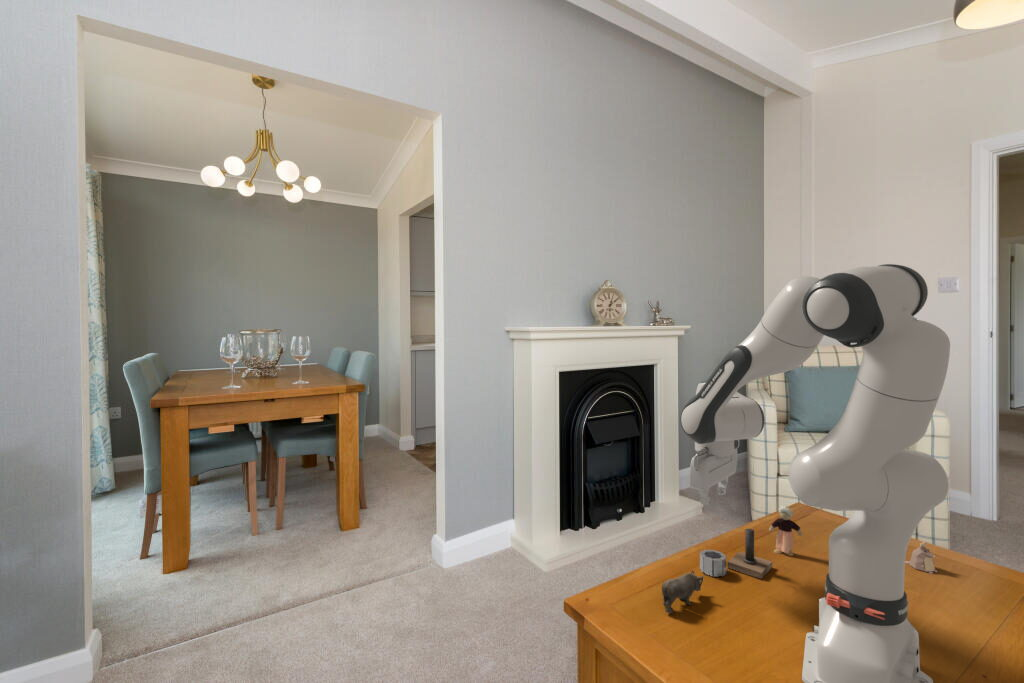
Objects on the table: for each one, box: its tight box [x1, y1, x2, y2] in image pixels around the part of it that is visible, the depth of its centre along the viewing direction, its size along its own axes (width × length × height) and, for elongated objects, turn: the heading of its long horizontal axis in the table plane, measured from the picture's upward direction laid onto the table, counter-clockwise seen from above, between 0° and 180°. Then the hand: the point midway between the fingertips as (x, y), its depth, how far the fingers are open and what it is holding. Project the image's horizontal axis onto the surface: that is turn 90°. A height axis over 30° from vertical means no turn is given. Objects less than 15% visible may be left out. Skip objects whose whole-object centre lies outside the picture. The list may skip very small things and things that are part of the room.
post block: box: [726, 528, 773, 580], centre depth 122 cm, size 8×8×10 cm
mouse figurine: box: [905, 541, 938, 574], centre depth 122 cm, size 5×8×7 cm, turn 22°
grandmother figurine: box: [768, 505, 803, 557], centre depth 129 cm, size 8×4×13 cm, turn 73°
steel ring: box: [699, 549, 727, 578], centre depth 120 cm, size 6×6×4 cm
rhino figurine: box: [661, 570, 704, 614], centre depth 107 cm, size 4×14×6 cm, turn 123°
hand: (713, 499), depth 120 cm, fingers open, 8 cm apart
